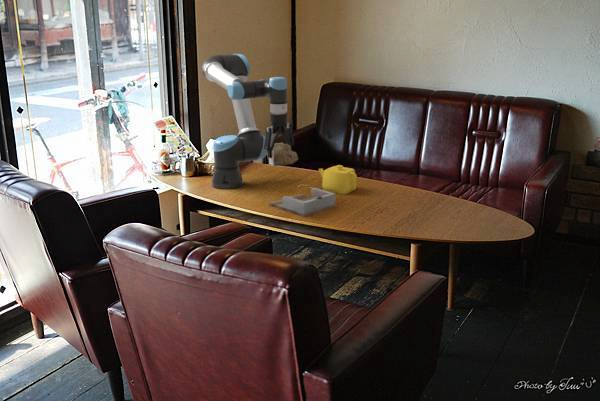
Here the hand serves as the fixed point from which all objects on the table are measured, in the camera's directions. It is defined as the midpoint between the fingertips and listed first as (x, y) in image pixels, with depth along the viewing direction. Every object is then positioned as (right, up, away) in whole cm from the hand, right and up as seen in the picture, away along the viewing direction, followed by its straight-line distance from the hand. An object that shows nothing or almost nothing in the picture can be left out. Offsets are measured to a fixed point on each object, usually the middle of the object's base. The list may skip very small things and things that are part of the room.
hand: (279, 162), depth 289 cm
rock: (0, -1, +1) cm, 1 cm away
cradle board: (+10, -19, -9) cm, 24 cm away
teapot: (+27, -12, +15) cm, 33 cm away
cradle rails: (+13, -19, -13) cm, 27 cm away
